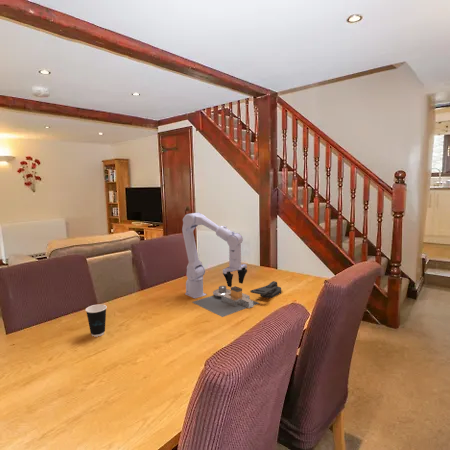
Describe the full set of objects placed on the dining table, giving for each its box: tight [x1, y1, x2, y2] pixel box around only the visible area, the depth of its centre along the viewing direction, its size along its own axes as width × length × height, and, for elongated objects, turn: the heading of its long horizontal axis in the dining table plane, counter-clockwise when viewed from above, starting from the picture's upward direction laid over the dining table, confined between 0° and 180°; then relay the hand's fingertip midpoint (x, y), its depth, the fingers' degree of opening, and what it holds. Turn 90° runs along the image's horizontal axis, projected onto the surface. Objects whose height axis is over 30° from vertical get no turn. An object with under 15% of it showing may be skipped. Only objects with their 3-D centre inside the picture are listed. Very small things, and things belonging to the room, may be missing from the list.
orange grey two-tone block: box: [230, 285, 243, 298], centre depth 160 cm, size 5×3×7 cm, turn 40°
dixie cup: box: [84, 303, 108, 338], centre depth 129 cm, size 8×8×11 cm
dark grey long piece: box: [250, 280, 282, 299], centre depth 168 cm, size 9×7×25 cm
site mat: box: [191, 294, 260, 318], centre depth 160 cm, size 24×24×1 cm
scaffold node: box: [212, 285, 254, 309], centre depth 163 cm, size 26×10×5 cm, turn 41°
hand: (235, 284), depth 160 cm, fingers open, 7 cm apart
